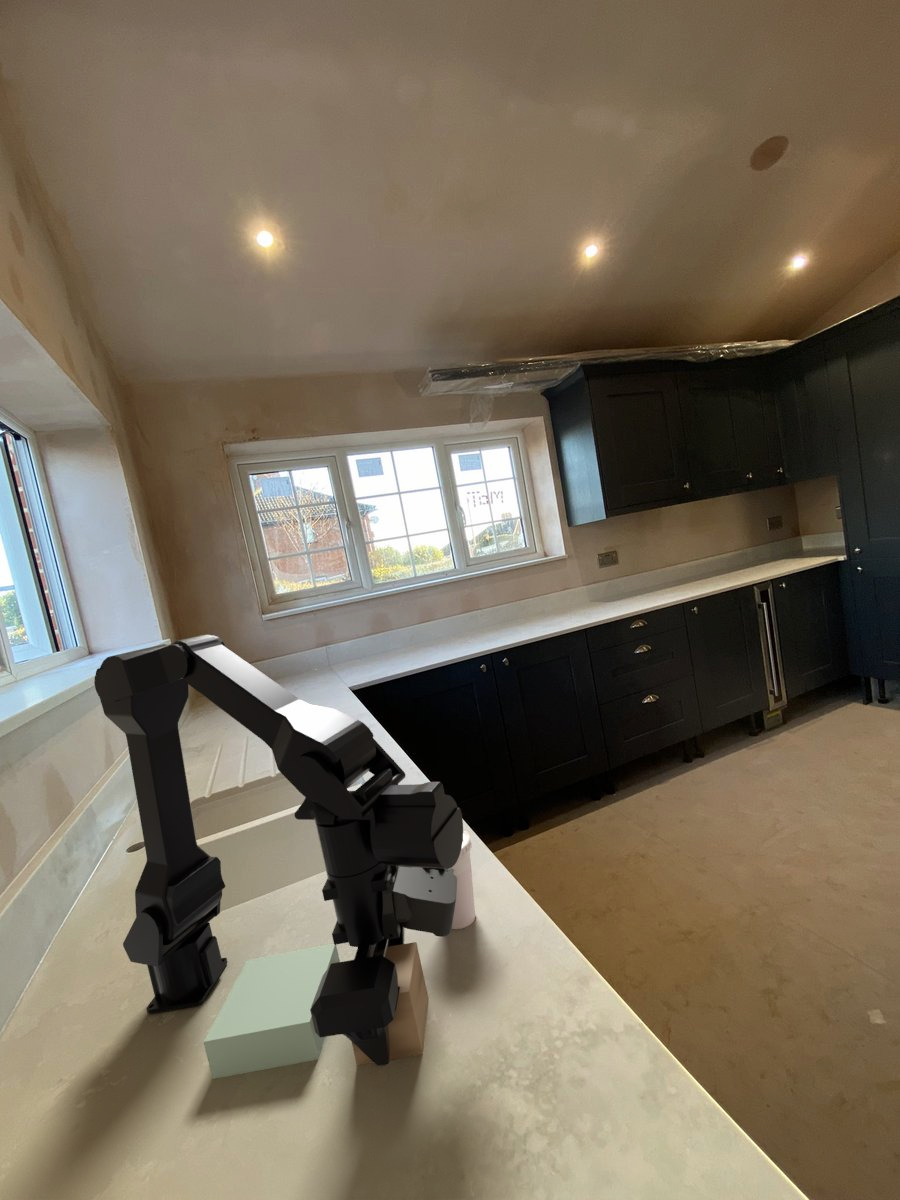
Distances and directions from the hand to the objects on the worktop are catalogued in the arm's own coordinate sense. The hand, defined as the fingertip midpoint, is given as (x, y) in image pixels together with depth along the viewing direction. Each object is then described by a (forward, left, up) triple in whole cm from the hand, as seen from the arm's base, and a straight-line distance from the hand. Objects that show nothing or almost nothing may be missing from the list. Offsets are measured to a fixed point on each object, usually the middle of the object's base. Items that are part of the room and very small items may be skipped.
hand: (391, 1016), depth 49 cm
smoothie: (+6, +14, -1) cm, 15 cm away
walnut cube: (0, 0, -1) cm, 1 cm away
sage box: (-12, +3, -2) cm, 12 cm away
